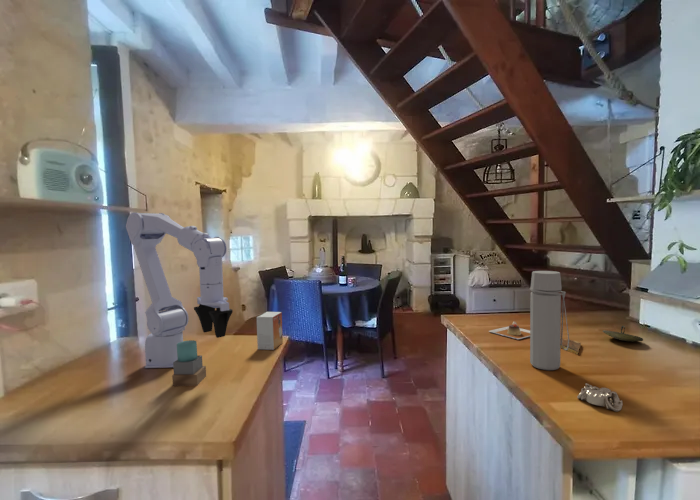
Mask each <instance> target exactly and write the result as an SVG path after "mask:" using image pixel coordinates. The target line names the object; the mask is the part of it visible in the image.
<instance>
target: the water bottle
mask: <svg viewBox="0 0 700 500" xmlns="http://www.w3.org/2000/svg"><path fill="white" fill-rule="evenodd" d="M561 277H562V276H561V272H559V271H553V270H535V271H534V270H533V271H532V272H531V278H530V279H531V280H530V287H529V290H530V291H531V292H530V297H529V300H530V301H529V302H530V303H529V305H530V307H529V312H530V313H529V314H530V315H529V317H530V318H529V319H530V320H529V323H530V324H529V325H530V326H529V328H530V329H529V330H530V333H529V336H530V337H529V343H530V344H529V346H530V347H529V363H530V364H531V365H532V366H533V367H534V368H537V369H538V370H541V371H542V370H543V371H556V370H559V368H561V367H560V366H561V349H562V348H563V346H562V339H563V332H564V331H563V330H564V315H565V322H566V331H567V333H566V334H567V339H568V346H567V349H564V348H563V349H562V350H563V351H566V350H568V347H569V340H570V333H569V327H568V318H567V317H568V316H567V310H566V301H565V297H566V293H567V292H566V291H564V290H563V291H562V289H563V288H562V287H563V286H562V279H561ZM562 307H563V308H562ZM561 313H562V314H561ZM560 343H561V346H562V348H560Z"/></svg>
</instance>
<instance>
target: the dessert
mask: <svg viewBox="0 0 700 500" xmlns="http://www.w3.org/2000/svg"><path fill="white" fill-rule="evenodd" d="M506 330H507V332H506V334H507V335H506V334H501V333H499V332H502V331H506ZM488 332H489V333H491V334H495V335H499V336H502V337H507V338H510V339H512V340H513V339H514V340H517V341H519V340H523V339H526V338H530V335H526V336H523V337H519V338H517V337H513V336H521V335H522V332H524V333H528V334H530V329H526V328H525V329H524V328H520V326H519V325H518V324H517V322H516V321H513V322H512V324H510V325H509V326H505V327H500V328H495V329H491V330H488Z"/></svg>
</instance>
